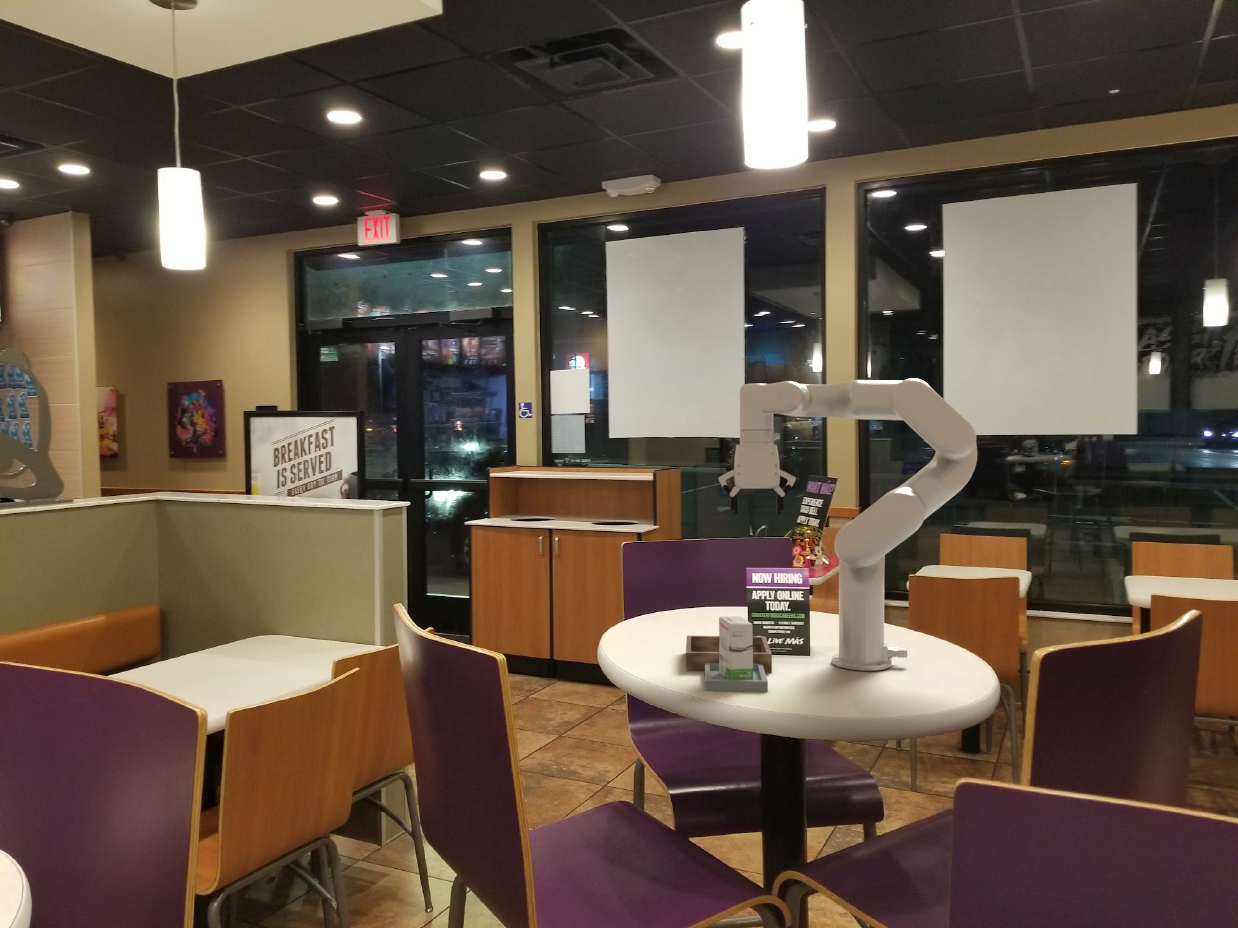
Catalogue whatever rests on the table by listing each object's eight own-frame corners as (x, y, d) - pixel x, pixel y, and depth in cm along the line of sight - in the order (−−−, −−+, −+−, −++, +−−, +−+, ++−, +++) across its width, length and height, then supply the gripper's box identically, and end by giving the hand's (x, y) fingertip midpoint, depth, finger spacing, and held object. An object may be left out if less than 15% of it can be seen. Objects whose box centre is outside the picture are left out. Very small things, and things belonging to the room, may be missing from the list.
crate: (765, 653, 201) (765, 636, 200) (771, 672, 184) (771, 653, 184) (686, 652, 202) (686, 635, 202) (685, 671, 185) (685, 652, 185)
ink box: (754, 682, 173) (754, 623, 173) (730, 683, 172) (729, 624, 172) (741, 671, 182) (741, 614, 181) (718, 672, 181) (717, 615, 181)
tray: (762, 673, 183) (762, 663, 183) (767, 691, 169) (767, 681, 169) (704, 672, 184) (704, 662, 184) (705, 690, 170) (705, 680, 170)
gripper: (793, 438, 200) (793, 513, 201) (717, 439, 202) (718, 513, 202) (797, 438, 193) (797, 515, 193) (718, 438, 194) (718, 515, 195)
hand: (756, 514), depth 198 cm, fingers open, 9 cm apart
